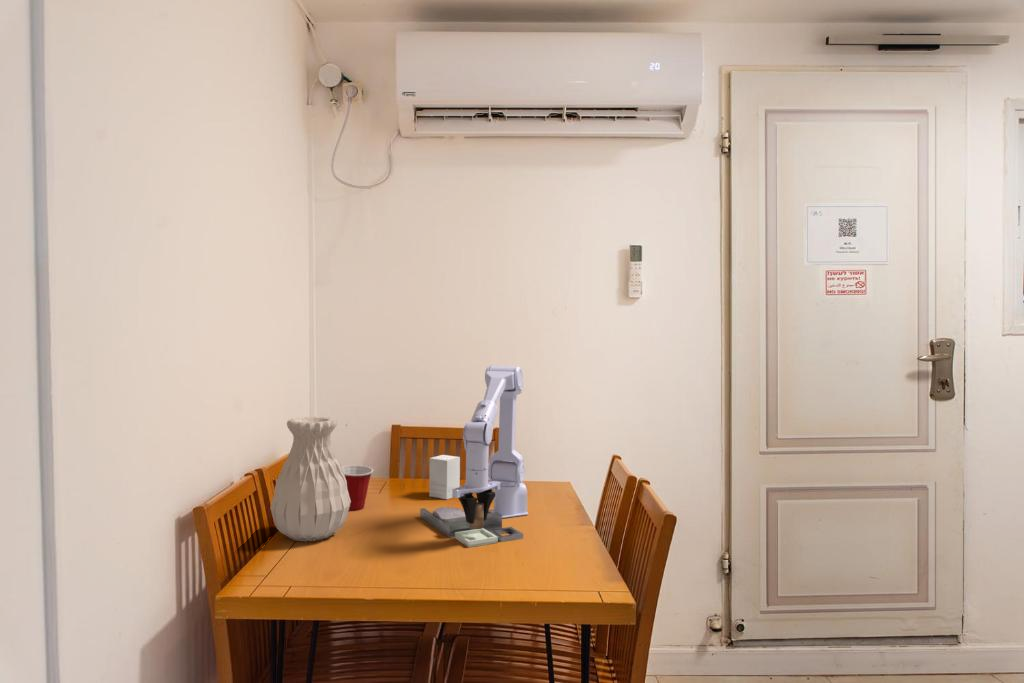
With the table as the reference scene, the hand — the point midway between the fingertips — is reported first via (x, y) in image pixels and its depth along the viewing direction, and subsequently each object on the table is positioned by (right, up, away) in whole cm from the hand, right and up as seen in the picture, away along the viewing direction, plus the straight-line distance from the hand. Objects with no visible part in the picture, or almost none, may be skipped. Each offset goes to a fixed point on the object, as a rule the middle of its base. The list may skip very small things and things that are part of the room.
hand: (476, 521), depth 168 cm
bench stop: (-5, -5, +15) cm, 17 cm away
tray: (0, -5, 0) cm, 5 cm away
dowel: (0, -2, 0) cm, 2 cm away
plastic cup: (-38, -4, +28) cm, 48 cm away
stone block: (-7, -5, +14) cm, 16 cm away
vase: (-43, -4, +2) cm, 43 cm away
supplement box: (-13, -4, +45) cm, 47 cm away
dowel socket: (+8, -5, +4) cm, 10 cm away
